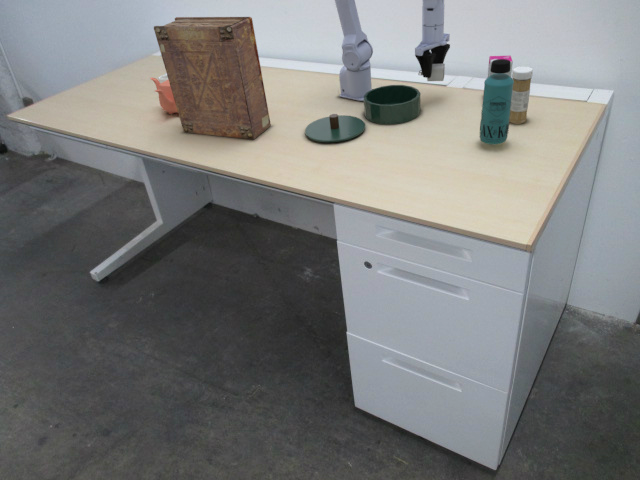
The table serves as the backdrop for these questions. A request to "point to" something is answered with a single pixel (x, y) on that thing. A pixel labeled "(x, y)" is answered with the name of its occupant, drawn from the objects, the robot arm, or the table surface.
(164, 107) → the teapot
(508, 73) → the supplement box
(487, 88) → the beverage bottle
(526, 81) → the sprinkles bottle
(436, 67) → the usb wall charger
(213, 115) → the book
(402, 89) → the pot
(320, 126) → the lid
